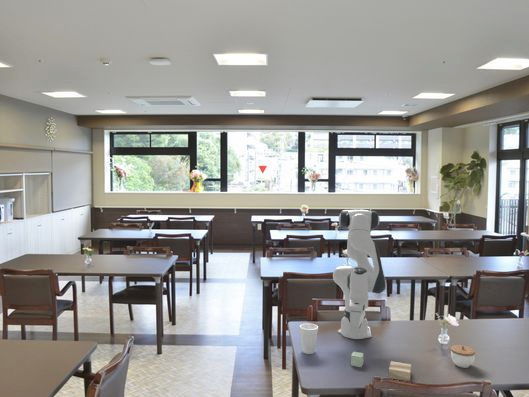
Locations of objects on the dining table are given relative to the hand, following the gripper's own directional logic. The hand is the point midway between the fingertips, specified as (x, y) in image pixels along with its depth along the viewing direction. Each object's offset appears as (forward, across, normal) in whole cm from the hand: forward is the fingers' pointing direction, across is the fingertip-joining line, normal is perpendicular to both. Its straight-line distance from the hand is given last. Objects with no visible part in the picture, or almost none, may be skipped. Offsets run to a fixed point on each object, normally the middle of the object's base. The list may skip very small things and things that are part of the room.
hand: (358, 331), depth 207 cm
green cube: (+16, 0, 0) cm, 16 cm away
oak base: (+16, +4, +20) cm, 26 cm away
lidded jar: (+16, -19, +47) cm, 53 cm away
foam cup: (+16, -6, -26) cm, 31 cm away
